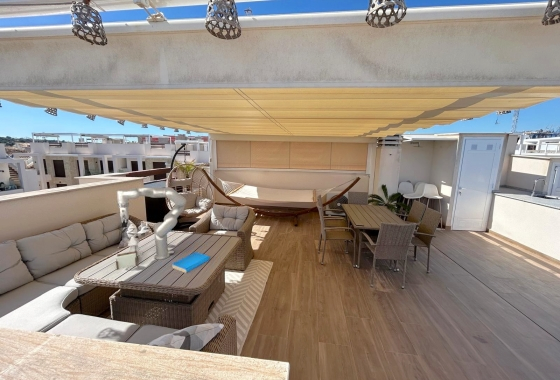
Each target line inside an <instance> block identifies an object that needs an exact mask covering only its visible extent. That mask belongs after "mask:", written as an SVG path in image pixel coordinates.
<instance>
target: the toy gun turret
mask: <svg viewBox="0 0 560 380" xmlns="http://www.w3.org/2000/svg"><path fill="white" fill-rule="evenodd" d="M136 235H137V234H134V235H132V236H131V238H130V240H128V238H127V239H125V242H126V243H127V246H128V247H129V251H128V252H133V251H137V256H141V255H143V253H144V252H143V251H142V250H141V249H140V248H139V242H140V239H139V238H138V237H136Z"/></svg>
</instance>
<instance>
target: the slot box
mask: <svg viewBox="0 0 560 380" xmlns="http://www.w3.org/2000/svg"><path fill="white" fill-rule="evenodd" d="M134 253H136V258H135V263H136V265H135V267H138V266H139V265H138V263H139V262H138V261H139V260H138V259H139V258H138V257H139V255H137V251H133V252H129V251H128V252H124V253H119V254H117V255H116V257H118V256H123V255H128V254H134ZM115 266H116V271H119V270H120V269H119V267H118V261H117V259H115Z"/></svg>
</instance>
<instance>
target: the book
mask: <svg viewBox="0 0 560 380" xmlns="http://www.w3.org/2000/svg"><path fill="white" fill-rule="evenodd" d="M209 260H210V256H209V255H207V254H203V253H201V252H198V251H197V252H196V251H195V252H192V253H191V254H189V255H187V256H185V257H183V258H181V259H179V260H176V261H175V262H173V263H171V267H172V268H173V269H174V270H177V271H180V272H183V273H184V274H186V273H187V274H188V273H189V272H191V271H192V270H194V269H196V268H198V267H200V266H202V265H203V264H204V262H205V263H207V262H208V261H209Z"/></svg>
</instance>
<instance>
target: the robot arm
mask: <svg viewBox="0 0 560 380" xmlns="http://www.w3.org/2000/svg"><path fill="white" fill-rule="evenodd" d="M139 197H150V198H152V199H153V198H157V199H158V198H167V199H168V200H170V201H171V202H172V203H173V204H174V206H173V207H172V209H170V211H169V212H168V213H167V214H165V215H164V218H163V221H161V222H160V221H159V222H157V223H155V224H154V227H153V233H154V242H155V243H154V245H155V255H154V256H153V257H154V259H155V260H166V259H168V258H170V256H171V254H174V253H175V252H174V250H169V247H168V246H169V245H168V234H169V233H170V232H171V231H172V229H174V227H175V226H176V225H177V223H178V218H179V216H181V215H182V213H183V212H184V209H185V207H186V205H187V199H186V198H185V197H184V196H183V195H182V194H180V193H178V191H176V190H175V189H174V188H172V187H170V186H169V187H167V186H166V187H165V186H164V187H132V188H130V189H118V190H116V199H117V201H116V202H117V208H119V216H120V220H121V227H122V229H125V228H128V224H129V223H128V222H129V221H128V220H129V218H130V215H129V207H130V201H129V200H135V199H138V198H139Z"/></svg>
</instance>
